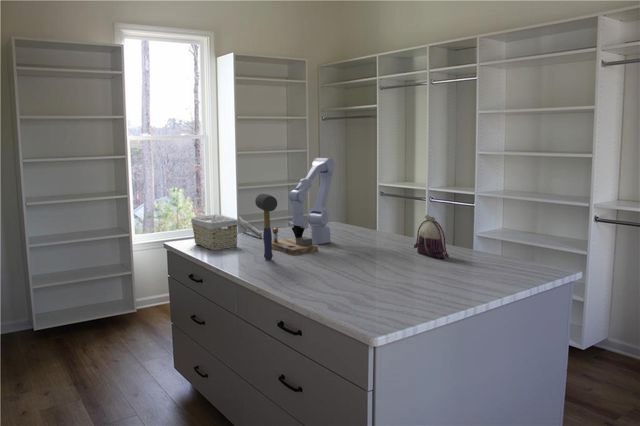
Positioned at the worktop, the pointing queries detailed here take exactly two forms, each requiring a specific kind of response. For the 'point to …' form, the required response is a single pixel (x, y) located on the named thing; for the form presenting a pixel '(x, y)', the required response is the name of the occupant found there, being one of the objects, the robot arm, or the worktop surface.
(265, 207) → the rubber mallet
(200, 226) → the storage basket
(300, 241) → the block
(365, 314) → the worktop surface
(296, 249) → the board
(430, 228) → the pouch
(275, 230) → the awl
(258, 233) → the gun
